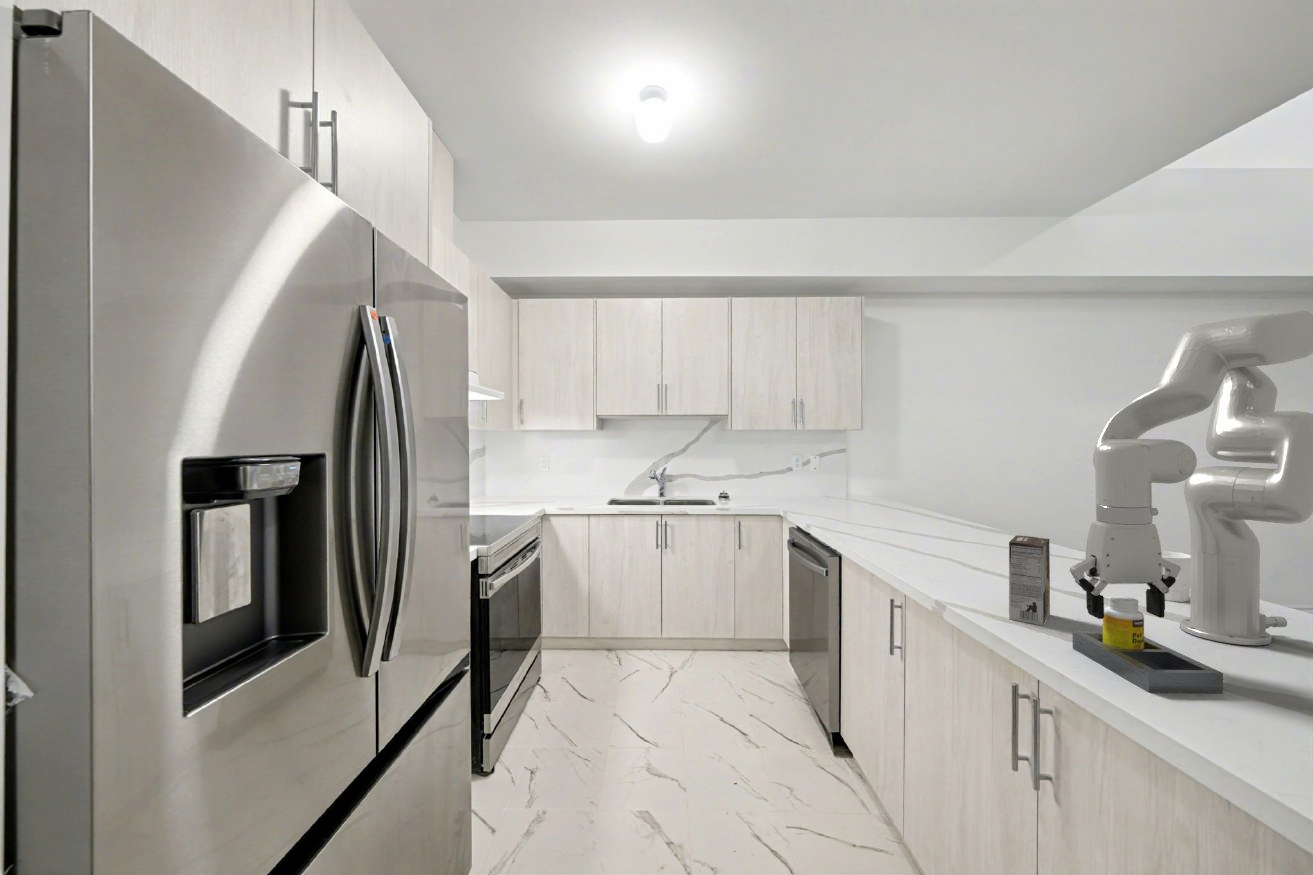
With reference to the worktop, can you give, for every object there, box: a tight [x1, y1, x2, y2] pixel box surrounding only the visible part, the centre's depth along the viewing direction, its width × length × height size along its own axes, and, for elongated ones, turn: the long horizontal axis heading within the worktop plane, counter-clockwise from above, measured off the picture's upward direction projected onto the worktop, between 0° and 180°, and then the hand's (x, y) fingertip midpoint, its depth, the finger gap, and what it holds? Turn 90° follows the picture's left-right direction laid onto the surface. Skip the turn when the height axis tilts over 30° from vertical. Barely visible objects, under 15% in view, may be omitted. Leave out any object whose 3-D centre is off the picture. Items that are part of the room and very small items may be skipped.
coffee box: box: [1008, 535, 1051, 626], centre depth 126 cm, size 9×6×16 cm
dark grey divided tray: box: [1072, 631, 1224, 694], centre depth 99 cm, size 18×10×3 cm, turn 177°
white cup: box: [1161, 550, 1191, 603], centre depth 139 cm, size 8×8×10 cm
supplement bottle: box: [1102, 595, 1145, 649], centre depth 103 cm, size 6×6×10 cm
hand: (1125, 615), depth 103 cm, fingers open, 9 cm apart
